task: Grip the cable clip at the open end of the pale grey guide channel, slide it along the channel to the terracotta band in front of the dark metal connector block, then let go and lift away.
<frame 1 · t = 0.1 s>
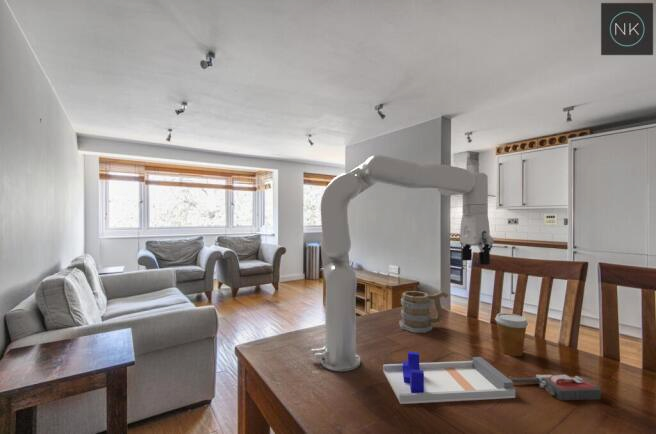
hand: (475, 262, 98), 31 cm above the table, tool pointing down, fingers open, 9 cm apart
guide channel: (444, 383, 81), on the table
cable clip: (412, 384, 81), resting on guide channel
disposable coffee cup: (511, 352, 101), on the table
tankard: (424, 327, 124), on the table
walkie-talkie: (555, 392, 78), on the table
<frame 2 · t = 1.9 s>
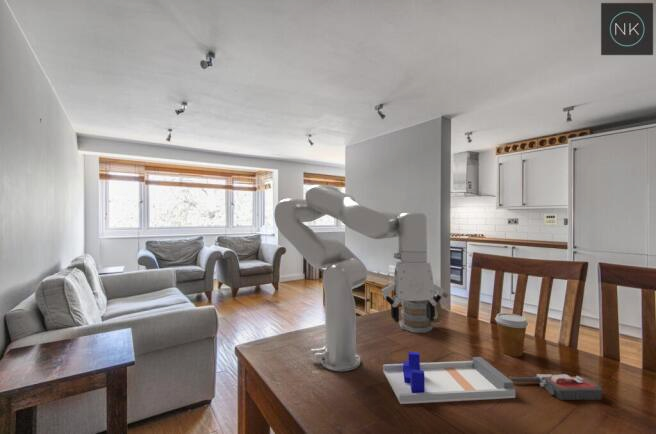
hand: (413, 319, 81), 18 cm above the table, tool pointing down, fingers open, 9 cm apart
nothing on the table moved.
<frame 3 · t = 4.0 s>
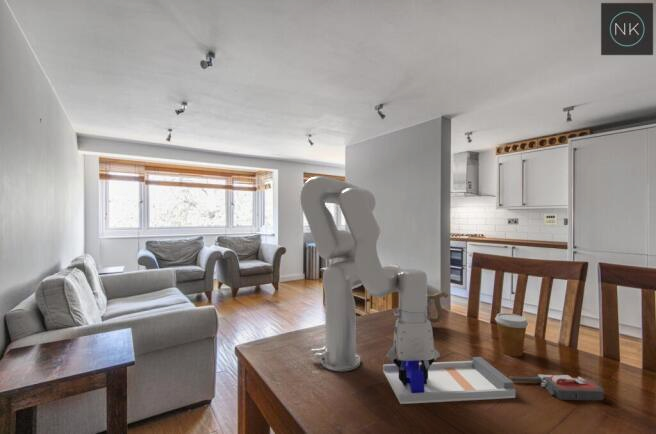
hand: (413, 381, 81), 1 cm above the table, tool pointing down, fingers closed on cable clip, 5 cm apart
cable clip: (412, 384, 80), resting on guide channel, touching gripper
everything else where it was.
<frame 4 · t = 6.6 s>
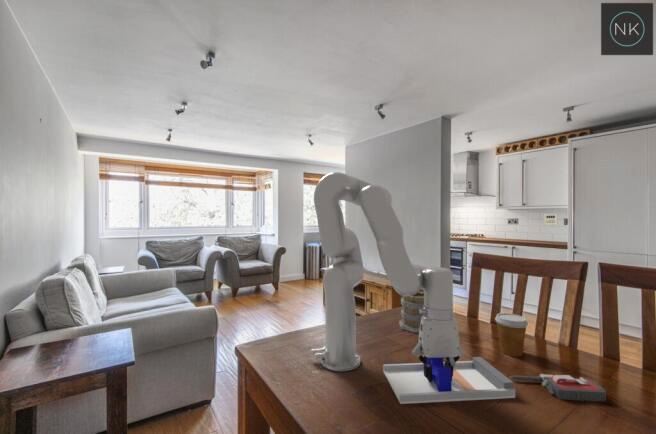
hand: (438, 378, 81), 2 cm above the table, tool pointing down, fingers closed on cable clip, 5 cm apart
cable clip: (437, 381, 81), point 1 cm above the table, touching gripper
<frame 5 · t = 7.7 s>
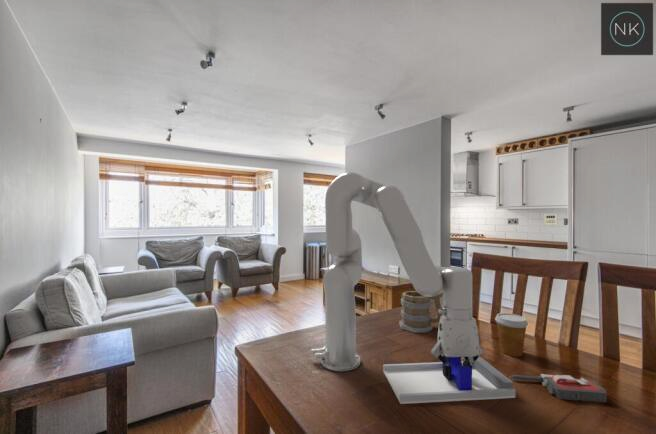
hand: (457, 377, 82), 1 cm above the table, tool pointing down, fingers closed on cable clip, 5 cm apart
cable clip: (456, 380, 82), point 1 cm above the table, touching gripper
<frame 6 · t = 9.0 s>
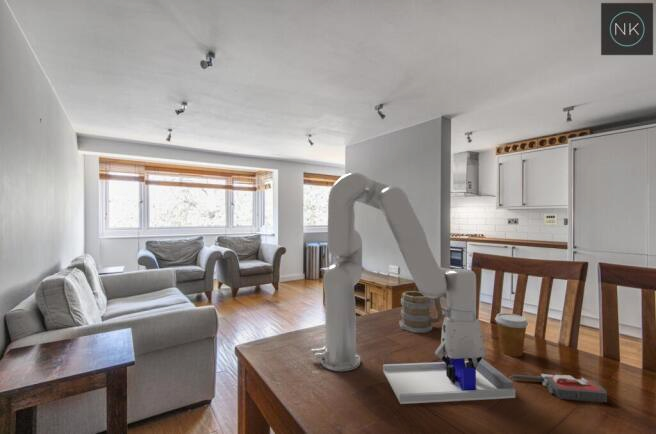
hand: (460, 378, 82), 1 cm above the table, tool pointing down, fingers closed on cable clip, 4 cm apart
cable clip: (460, 381, 82), resting on guide channel, touching gripper
when the fingers open (1 cm above the table, at t = 9.2 s): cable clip stays where it is, resting on guide channel.
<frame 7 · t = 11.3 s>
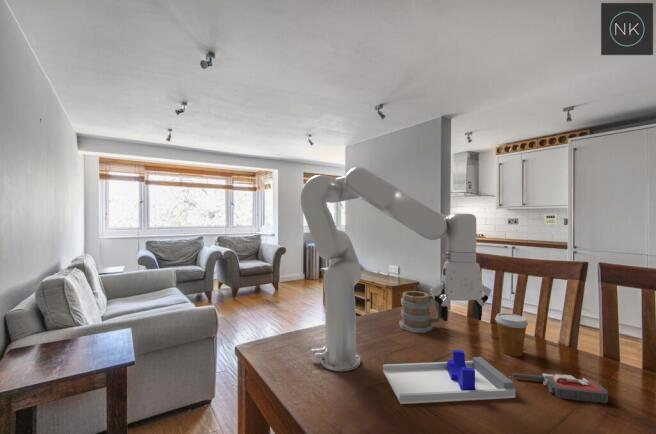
hand: (460, 319, 82), 18 cm above the table, tool pointing down, fingers open, 9 cm apart
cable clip: (460, 381, 82), resting on guide channel
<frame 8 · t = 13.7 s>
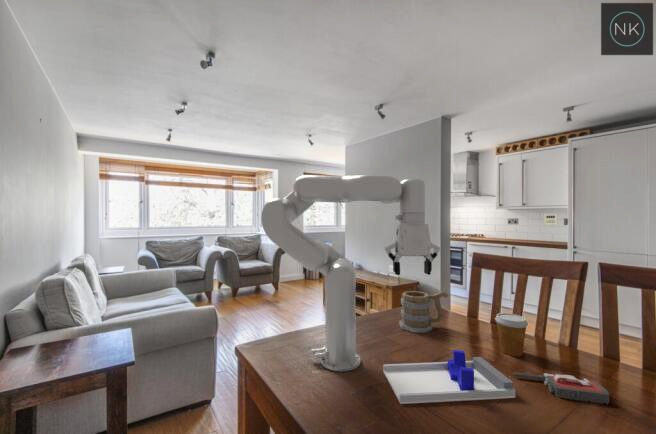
hand: (412, 274, 92), 28 cm above the table, tool pointing down, fingers open, 9 cm apart
at the end: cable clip 0.5 cm from the target spot on the guide channel, point 0.3 cm above the guide channel's base; the gripper is holding nothing; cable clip tilted 0° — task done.
